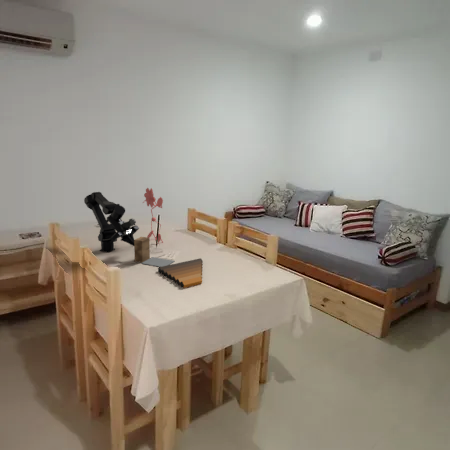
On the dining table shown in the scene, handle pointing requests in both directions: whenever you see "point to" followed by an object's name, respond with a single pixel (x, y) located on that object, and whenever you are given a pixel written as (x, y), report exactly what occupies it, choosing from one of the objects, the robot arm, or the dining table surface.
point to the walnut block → (142, 249)
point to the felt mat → (157, 262)
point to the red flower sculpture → (151, 200)
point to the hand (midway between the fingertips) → (135, 245)
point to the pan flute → (184, 272)
